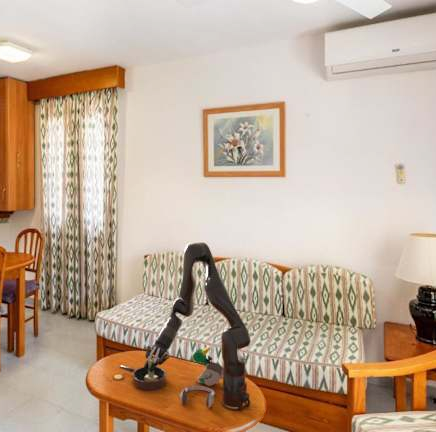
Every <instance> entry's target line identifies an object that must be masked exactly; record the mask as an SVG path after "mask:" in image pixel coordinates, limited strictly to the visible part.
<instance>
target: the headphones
mask: <svg viewBox="0 0 436 432" xmlns="http://www.w3.org/2000/svg"><path fill="white" fill-rule="evenodd" d="M194 390H200V391H205V392H208V394H207V395H206V399H205V405H206V407H207V408H208V409H209V408H211V407H212V405H214V402H215V400H214V398H215V393H216V391H215V390H213V389H212V388H210V387H209V386H204V385H190V386H187V387H185V388H184V389H182V391H181V392H180V394H179V401H180V403H181V405H184V404H186V402H187V399H188V391H194ZM169 401H170V402H171V401H172V398H171V399H170V400H169Z"/></svg>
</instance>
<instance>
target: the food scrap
mask: <svg viewBox="0 0 436 432" xmlns="http://www.w3.org/2000/svg"><path fill="white" fill-rule="evenodd" d="M123 377H124V376H123V374H115V375H114V376H113V378H114V379H115V380H121V379H123Z"/></svg>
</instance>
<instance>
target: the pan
mask: <svg viewBox="0 0 436 432" xmlns="http://www.w3.org/2000/svg"><path fill="white" fill-rule="evenodd" d="M147 374H148V369H147V370H146V369H145V368H144V366H141V367H139V368H137V369H135V371H134V372H133V373H132V385H133V386H134V388H136V389H137V390H141V391H145V392H148V391H149V392H150V391H157V390H160V389H162V388H163V387H164V386H165V385H166V381H167V379H166V378H167V376H166V375H167V374H166V371H165V369H163V368H161V367H159V366H156V367H155V369H154V375H156V376H158V380H157V381H150V382H146V381H144V376H146V375H147Z"/></svg>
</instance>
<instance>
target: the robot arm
mask: <svg viewBox="0 0 436 432" xmlns="http://www.w3.org/2000/svg"><path fill="white" fill-rule="evenodd" d="M197 263H198V264H199V263H201V264H202V266H203V268H204V271H205V279H204V287H203V288H204V293H205V295H206V297H207V300H208V302H209V303H210V305H211V306H212V307H213V308H214V309H215V310H216V311H217V312H218V313H219V314H221V315H222V316H223V317H224V318H225V320H226V321H227V322H228V325H229V326H230V327H228V328H225V329H224V330H223V331H222V332H221V337H220V338H221V340H220V341H221V343H220V344H221V357H222V361H223V363H222V364H223V366H222V367H223V376H222V377H223V379H222V385H223V388H222V399H221V400H222V402H221V404H222V406H224V407H225V408H226V409H228V410H231V411H232V410H234V411H242V409H243V408H244V407H245V406H246V408H249V407H250V405H251V399H250V393H249V392H247V391H248V390H247V388H248V383H247V382H246V366H247V365H246V364H247V363H246V361H247V360H246V358H245V356H242V355H241V354H239V353H238V351H239V350H242V349H245V348H247V347H249V346H250V345H251V335H250V332H249V329H248V328H247V326H246V324H245V323H244V321H243V319H242V318H241V316H240V314H239V312H238V310H237V309H236V307H235V305H234V303H233V301H232V298H231V296H230V293H229V292H228V289H227V286H226V285H225V283H224V281H223V279H222V277H221V275H220V272H219V269H218V268H217V265H216V262H215V259H214V256H213V253H212V251H211V248H210V247H209V245H208V243H206V242H193V243H189V244H187V245H186V246H185V249H184V252H183V267H182V278H181V279H182V280H181V285H180V288H179V294H178V295H179V297H178V298H176V299H175V300H174V301H173V303H172V307H171V311H170V315H169V317H168V318H167V320H166V322H165V324H164V326H163V327H162V328H161V330H160V332H159V334H158V335H157V337H156V338H155V341H154V343H153V345H152V346H151V345H147V347H146V350H145V351H146V352H145V358H146V361H145V362H144V365H143V367H144V368H145V369H146V370H147V369H148V360H149V359H154V363H152V364H151V366H150V368H149V371H150V372H152V371H154V369H155V367H158V366H162V365H163V364H164V363H165V362H166V361H168V360H169V358H170V355H169V354H168V350H169V349H170V348H171V347H172V345H173V342H174V341H175V339H176V337H177V335H178V332H179V330H181V327H182V325H183V321H182V319H181V318H180V317H179V316H177V314H179V315H180V316H183V317H185V318H189V317H191V316H192V315H193V313H194V310H195V304H194V295H195V290H196V287H197V283H196V277H195V275H194V272H193V268H194V266H195V264H197Z"/></svg>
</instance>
